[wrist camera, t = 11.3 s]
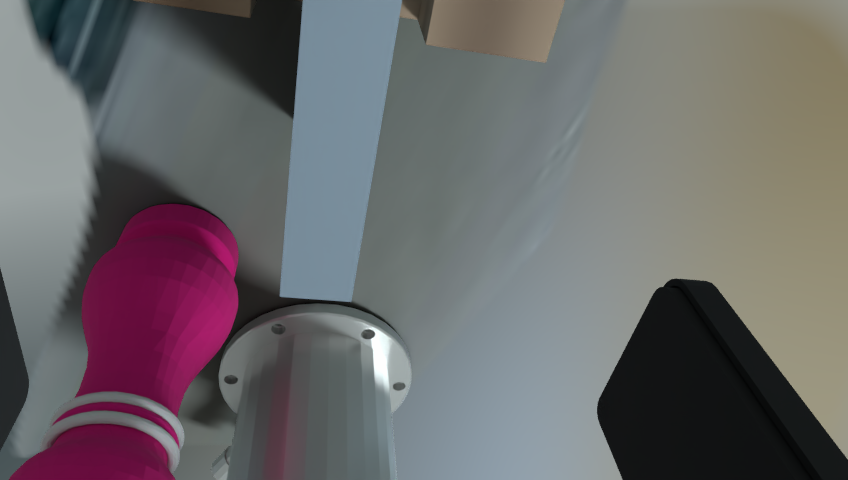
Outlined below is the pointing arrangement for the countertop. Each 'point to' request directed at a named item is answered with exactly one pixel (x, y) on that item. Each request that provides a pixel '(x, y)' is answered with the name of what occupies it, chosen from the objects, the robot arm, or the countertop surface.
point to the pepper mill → (143, 347)
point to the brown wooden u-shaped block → (452, 22)
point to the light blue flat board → (335, 141)
